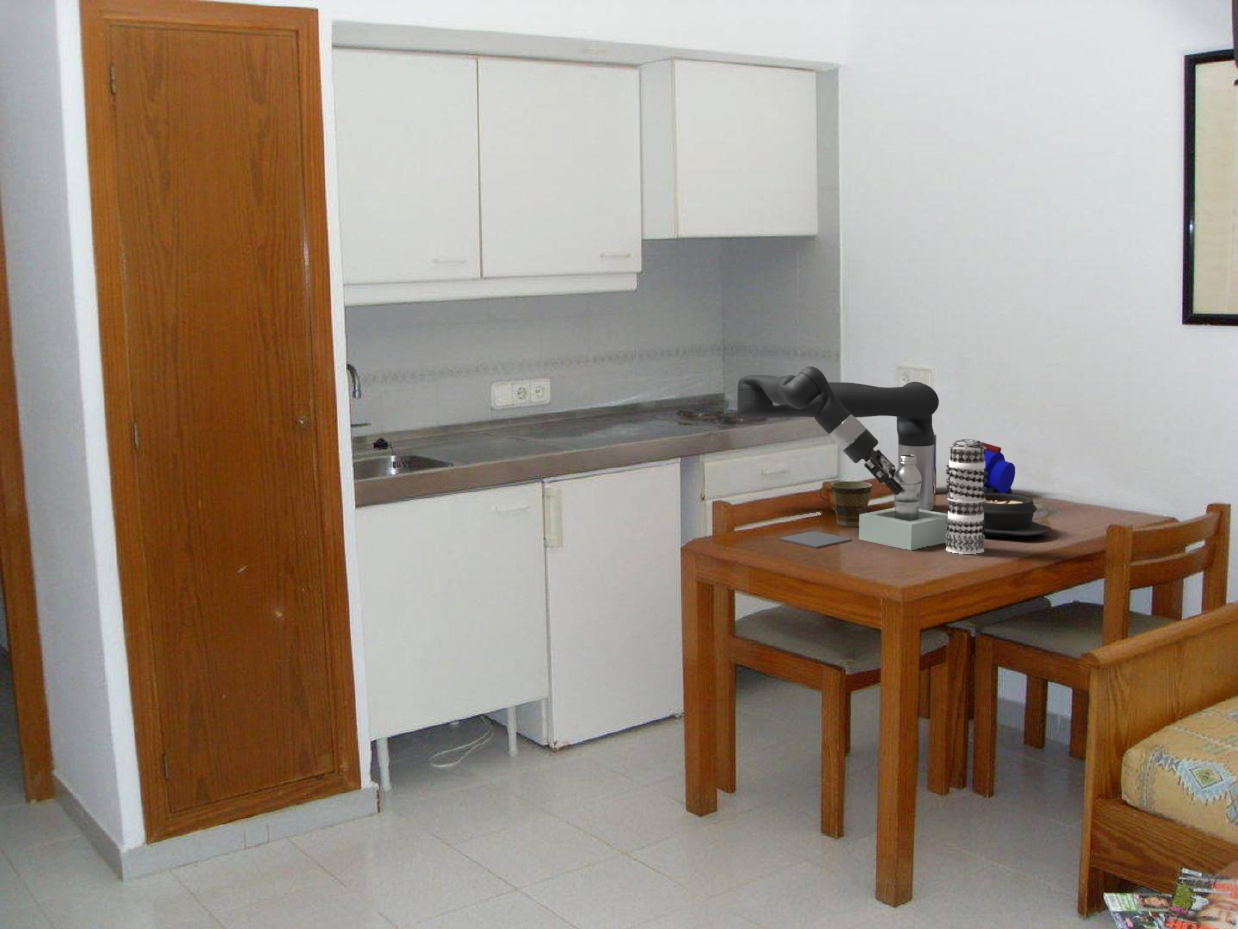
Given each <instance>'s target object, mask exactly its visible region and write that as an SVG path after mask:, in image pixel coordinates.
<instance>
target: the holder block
mask: <svg viewBox="0 0 1238 929" xmlns="http://www.w3.org/2000/svg"><path fill="white" fill-rule="evenodd" d="M894 516H895V508H894V507H891V508H886V509H880V510H876V511H871V512H867V513H864V514H859V526H858V540H861V541H864V542H870V543H873V544H879V545H884V546H888V547H893V548H898V549H903V550H906V549H907V550H906V551H915V550H919V549H918V548H920V549H923V548H922V547H924V548H927V547H926V546H929V547H932V546H937V545H941V544H946V540H947V538H946V533H948V530H946V526H948V525H949V524H947V523H946V520H947V519H948V513H945V512H938V511H932V510H930V511H928V510H922V509H919V517H920V519H919V520H914V521H906V520H901V519H895V518H894Z"/></svg>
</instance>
